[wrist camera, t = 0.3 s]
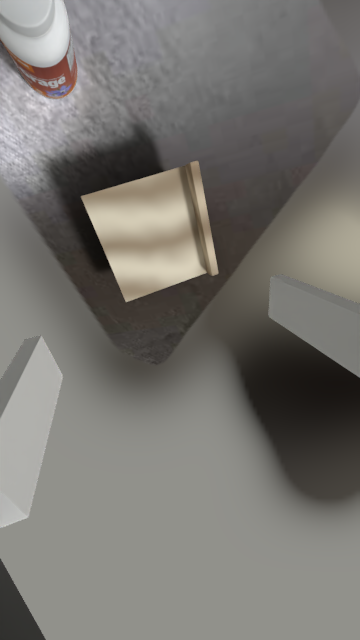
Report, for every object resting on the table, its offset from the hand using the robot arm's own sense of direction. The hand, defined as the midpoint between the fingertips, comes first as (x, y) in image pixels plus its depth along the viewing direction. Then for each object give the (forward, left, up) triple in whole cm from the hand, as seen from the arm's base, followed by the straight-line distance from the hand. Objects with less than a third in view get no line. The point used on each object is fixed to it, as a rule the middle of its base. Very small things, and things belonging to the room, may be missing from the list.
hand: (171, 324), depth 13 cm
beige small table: (-1, +4, -27) cm, 27 cm away
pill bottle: (-21, -1, -27) cm, 34 cm away
